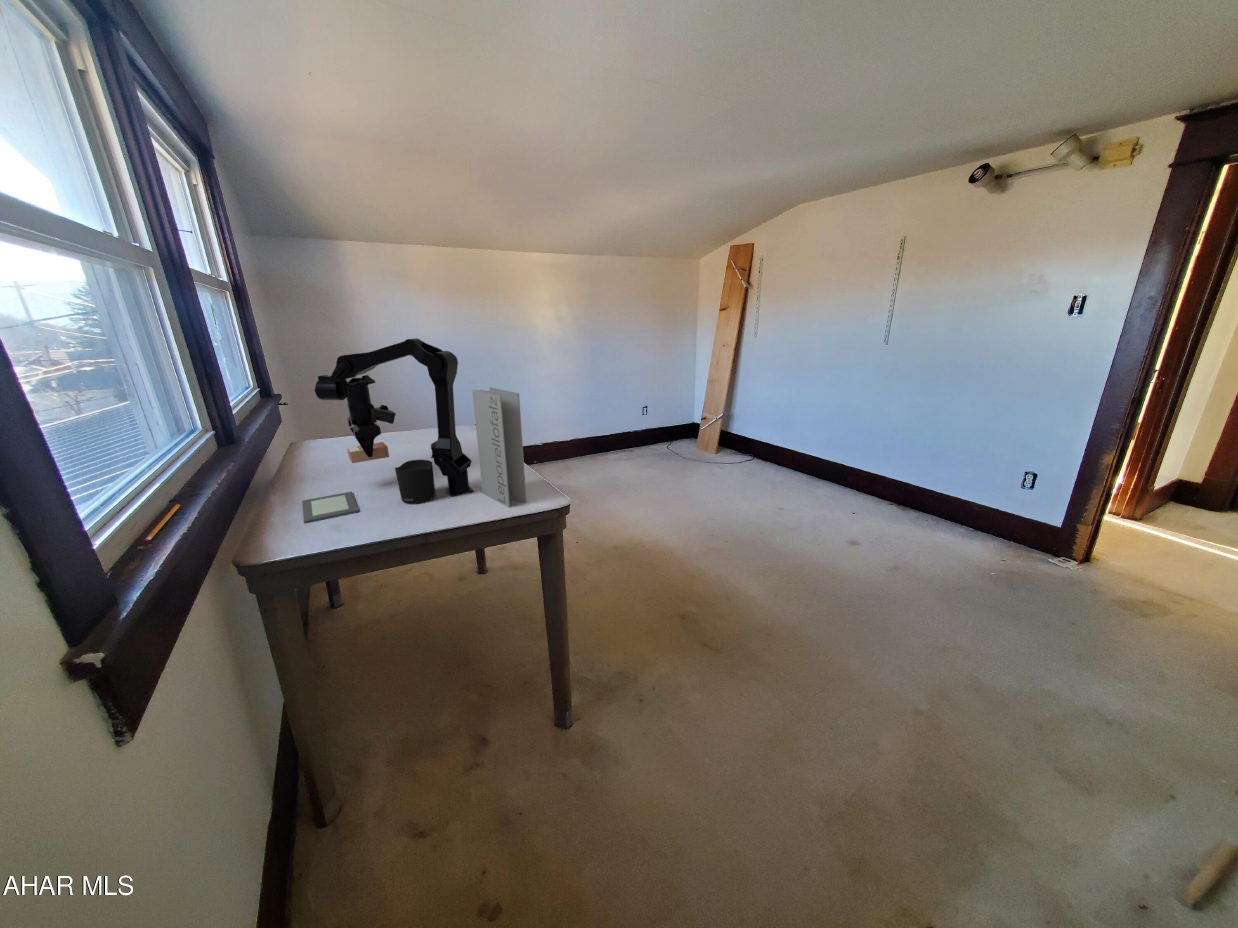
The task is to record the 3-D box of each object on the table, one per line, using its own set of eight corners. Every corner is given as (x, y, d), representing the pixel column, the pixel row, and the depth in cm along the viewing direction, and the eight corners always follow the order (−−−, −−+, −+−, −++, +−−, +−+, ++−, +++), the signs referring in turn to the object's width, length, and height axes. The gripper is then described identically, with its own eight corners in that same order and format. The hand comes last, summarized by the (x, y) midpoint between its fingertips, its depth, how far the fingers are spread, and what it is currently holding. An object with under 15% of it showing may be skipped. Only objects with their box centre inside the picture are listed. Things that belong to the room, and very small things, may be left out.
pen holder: (396, 497, 129) (390, 464, 126) (430, 489, 135) (425, 457, 132) (406, 508, 123) (400, 472, 119) (441, 499, 128) (437, 465, 125)
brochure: (482, 493, 132) (472, 389, 123) (499, 488, 136) (490, 387, 127) (509, 507, 123) (499, 395, 113) (526, 501, 126) (519, 393, 117)
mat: (358, 512, 120) (358, 509, 120) (304, 523, 114) (303, 520, 113) (352, 493, 133) (351, 491, 132) (302, 502, 126) (302, 500, 126)
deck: (384, 452, 138) (383, 441, 137) (389, 457, 133) (387, 446, 132) (348, 458, 132) (346, 447, 131) (352, 463, 128) (350, 451, 127)
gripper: (396, 402, 125) (405, 457, 129) (385, 393, 139) (392, 442, 144) (350, 407, 118) (360, 464, 123) (342, 396, 133) (352, 448, 138)
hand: (368, 454), depth 132 cm, fingers closed on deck, 6 cm apart
